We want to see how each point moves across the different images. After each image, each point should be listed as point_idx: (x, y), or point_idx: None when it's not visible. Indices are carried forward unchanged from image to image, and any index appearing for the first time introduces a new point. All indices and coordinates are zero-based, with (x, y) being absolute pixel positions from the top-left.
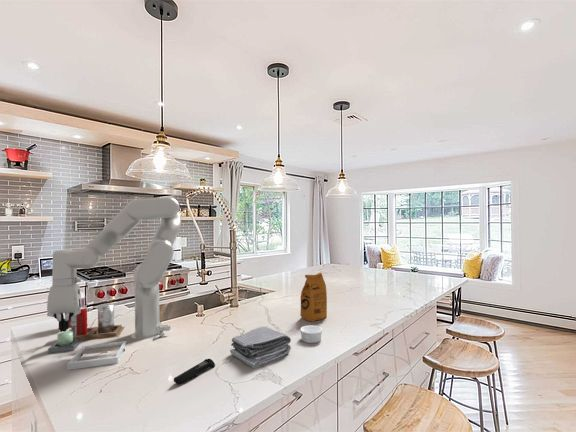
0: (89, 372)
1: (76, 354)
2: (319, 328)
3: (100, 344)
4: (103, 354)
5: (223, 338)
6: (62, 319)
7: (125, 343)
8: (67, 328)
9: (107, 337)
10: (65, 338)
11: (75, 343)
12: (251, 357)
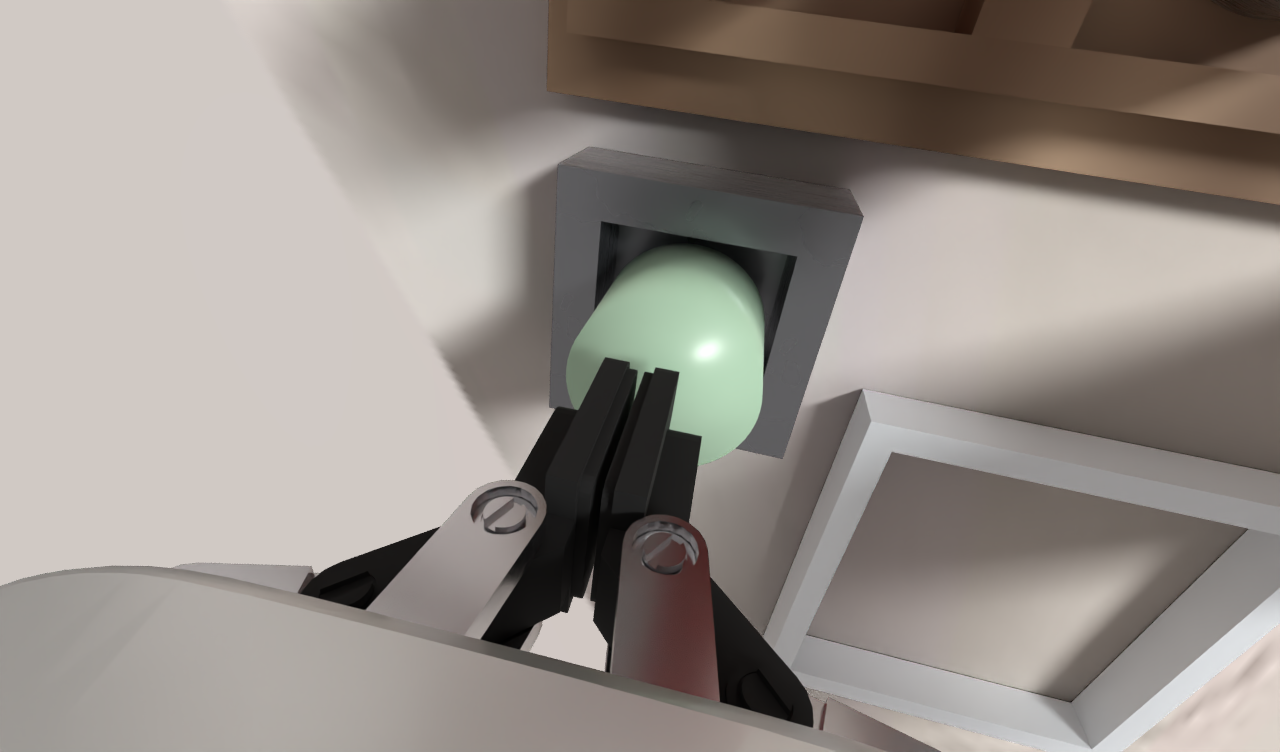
0: (887, 721)
1: (813, 579)
2: None
3: (1061, 477)
4: (1031, 549)
5: None
6: (560, 608)
7: None
8: (674, 397)
9: (1263, 161)
10: None
11: (797, 403)
12: None
